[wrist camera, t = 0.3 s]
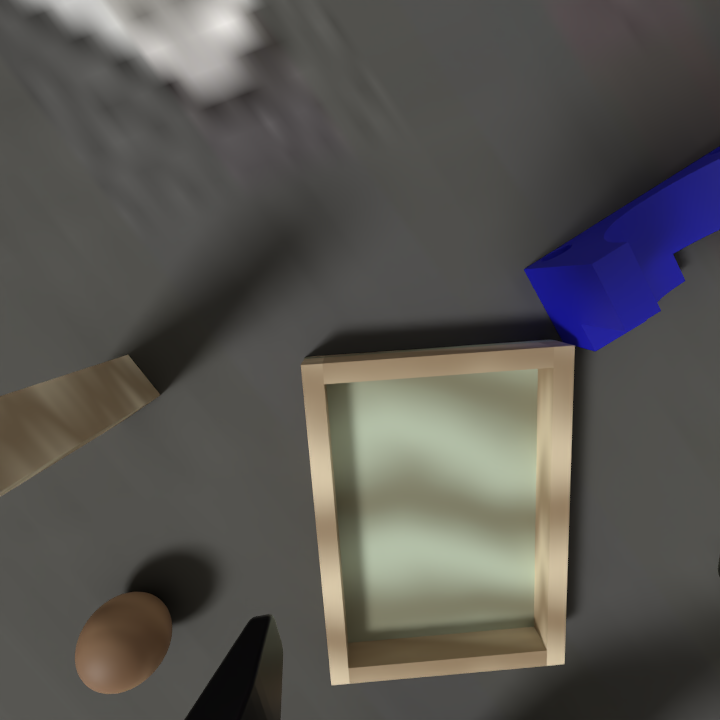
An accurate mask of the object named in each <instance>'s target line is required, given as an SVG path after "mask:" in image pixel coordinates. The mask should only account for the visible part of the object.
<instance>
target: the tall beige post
mask: <svg viewBox="0 0 720 720" xmlns="http://www.w3.org/2000/svg"><path fill="white" fill-rule="evenodd" d="M159 396H160V394H159V393H158V391H157V390H156V389H155V388H154V386H153V385H152V384H151V383H150V381H149V380H148V379H147V378H146V376H145V375H144V374H143V373H142V371H141V370H140V369H139V368H138V366H137V365H136V364H135V363H134V361H133V360H132V359H131V358H130V356H129V355H125V356H122V357H119V358H116V359H113V360H110V361H107V362H104V363H101V364H98V365H95V366H92V367H89V368H85V369H82V370H79V371H76V372H73V373H70V374H67V375H64V376H61V377H58V378H55V379H52V380H49V381H46V382H42V383H39V384H36V385H33V386H30V387H27V388H24V389H21V390H18V391H15V392H12V393H9V394H6V395H3V396H0V497H1V496H2V495H4V494H6V493H7V492H9V491H10V490H12V489H14V488H15V487H17V486H18V485H20V484H22V483H23V482H25V481H27V480H28V479H30V478H31V477H33V476H35V475H36V474H38V473H40V472H41V471H43V470H44V469H46V468H48V467H49V466H51V465H53V464H54V463H56V462H57V461H59V460H61V459H62V458H64V457H65V456H67V455H69V454H70V453H72V452H74V451H75V450H77V449H78V448H80V447H82V446H83V445H85V444H87V443H88V442H90V441H91V440H93V439H95V438H96V437H98V436H100V435H101V434H103V433H104V432H106V431H108V430H109V429H111V428H112V427H114V426H116V425H117V424H119V423H121V422H122V421H124V420H125V419H127V418H128V417H129V416H131V415H132V414H134V413H135V412H137V411H138V410H140V409H141V408H143V407H144V406H145V405H147V404H148V403H150V402H151V401H153V400H154V399H156V398H157V397H159Z"/></svg>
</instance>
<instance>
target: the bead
mask: <svg viewBox="0 0 720 720" xmlns="http://www.w3.org/2000/svg"><path fill="white" fill-rule="evenodd" d="M171 637H172V620H171V616H170V613H169V611H168V609H167V607H166V606H165V604H164V603H163V602H162V601H161V600H160V599H159V598H158V597H156V596H154V595H152V594H149V593H145V592H129V593H125V594H121V595H119V596H117V597H114V598H113V599H111V600H109V601H108V602H106V603H105V604H103V605H102V606H101V607H100V608H99V609H97V610H96V611H95V612H94V614H93V615H92V616H91V617H90V618H89V620H88V621H87V623H86V624H85V626H84V627H83V629H82V631H81V633H80V636H79V639H78V642H77V645H76V652H75V663H76V668H77V672H78V674H79V676H80V678H81V680H82V681H83V682H84V683H85V685H87V686H88V687H89V688H90V689H92V690H94V691H96V692H99V693H104V694H115V693H121V692H124V691H127V690H130V689H132V688H134V687H136V686H137V685H139V684H141V683H142V682H143V681H145V680H146V679H147V678H148V677H149V676H150V675H151V674H152V673H153V672H154V671H155V670H156V669H157V668H158V666H159V665H160V664H161V662H162V660H163V658H164V657H165V655H166V653H167V650H168V648H169V645H170V641H171Z"/></svg>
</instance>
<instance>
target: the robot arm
mask: <svg viewBox="0 0 720 720" xmlns="http://www.w3.org/2000/svg"><path fill="white" fill-rule="evenodd" d="M718 574H719V576H720V558H719V564H718ZM282 669H283V648H282V642H281V639H280V636H279V632H278V629H277V625H276V622H275V619H274V617H273V616H272V615H269V614H268V615H262V616H256V617H253V618H252V619H250V621H249V622H248V623H247V625H246V626H245V628H244V629H243V631H242V633H241V634H240V636H239V637H238V639H237V640H236V642H235V643H234V645H233V646H232V648H231V649H230V651H229V652H228V654H227V655H226V657H225V658H224V660H223V662H222V663H221V665H220V666H219V668H218V669H217V671H216V672H215V674H214V675H213V677H212V678H211V680H210V681H209V683H208V684H207V686H206V688H205V689H204V691H203V692H202V694H201V695H200V697H199V698H198V700H197V701H196V703H195V704H194V706H193V707H192V709H191V710H190V712H189V714H188V715H187V717H186V718H185V720H280V718H281V693H282Z"/></svg>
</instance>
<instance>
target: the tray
mask: <svg viewBox="0 0 720 720" xmlns="http://www.w3.org/2000/svg"><path fill="white" fill-rule="evenodd" d="M574 355H575V345H571V344H567V343H564V342H560V341H556V340H552V339H549V340H535V341H521V342H507V343H493V344H479V345H465V346H451V347H437V348H423V349H409V350H395V351H381V352H367V353H353V354H339V355H325V356H311V357H305V359H304V361H303V362H302V364H301V371H302V381H303V392H304V402H305V413H306V423H307V434H308V444H309V455H310V465H311V476H312V486H313V497H314V507H315V517H316V528H317V538H318V549H319V559H320V570H321V580H322V591H323V601H324V612H325V622H326V633H327V643H328V654H329V664H330V675H331V685H340V684H351V683H362V682H373V681H384V680H395V679H406V678H417V677H428V676H439V675H451V674H462V673H473V672H484V671H495V670H506V669H517V668H528V667H539V666H550V665H561V664H564V662H565V632H566V601H567V570H568V539H569V508H570V478H571V447H572V416H573V385H574Z"/></svg>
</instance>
